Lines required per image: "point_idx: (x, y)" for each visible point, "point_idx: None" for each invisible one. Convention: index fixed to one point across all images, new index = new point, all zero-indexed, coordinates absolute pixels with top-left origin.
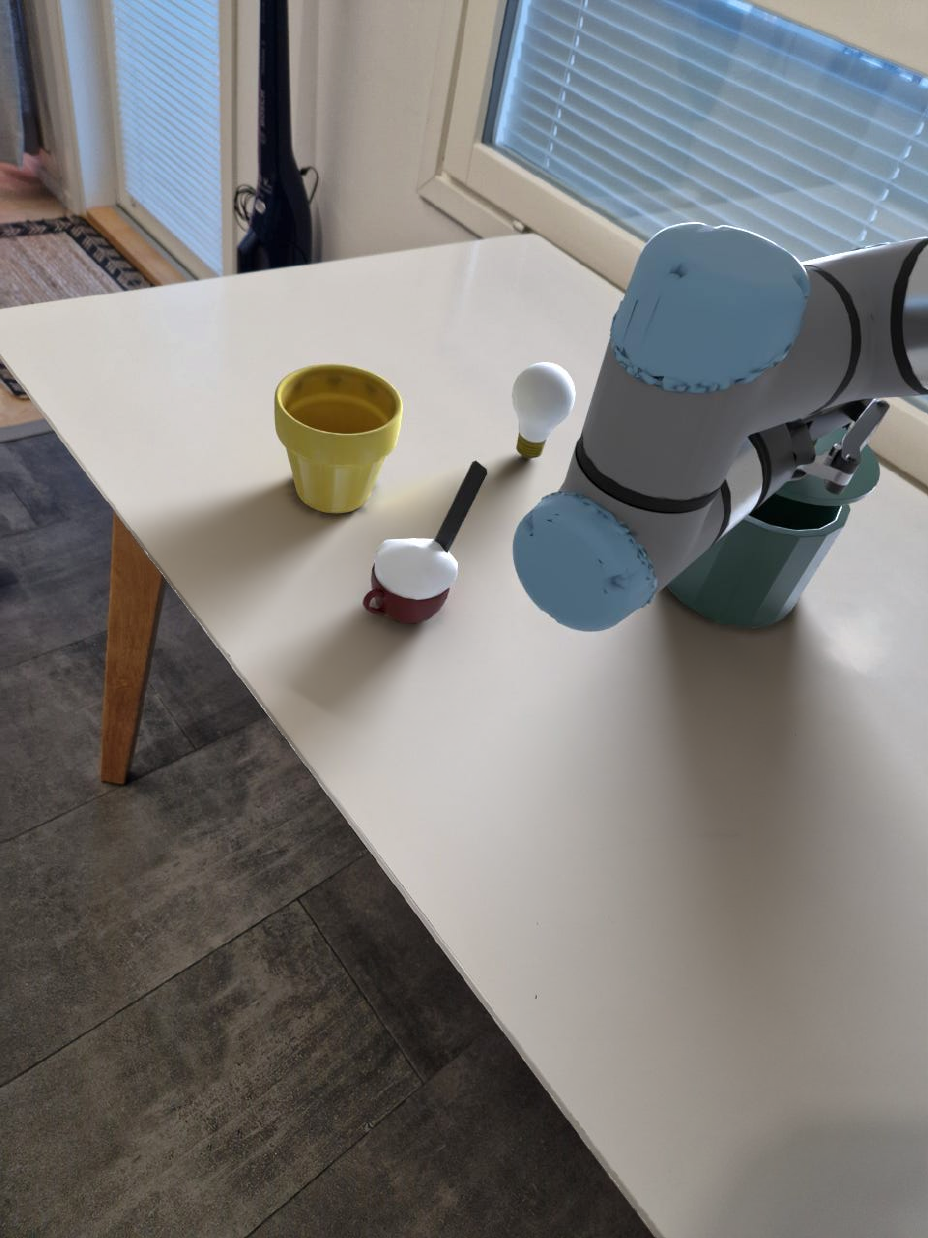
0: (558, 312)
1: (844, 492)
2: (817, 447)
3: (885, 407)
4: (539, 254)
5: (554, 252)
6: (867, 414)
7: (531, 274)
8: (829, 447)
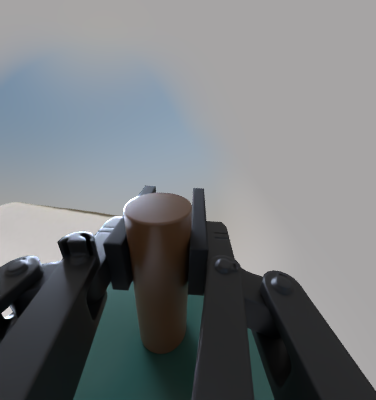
0: (17, 233)
1: (268, 393)
2: (188, 310)
3: (298, 292)
4: (12, 209)
5: (22, 205)
6: (328, 383)
7: (3, 220)
8: (197, 298)
